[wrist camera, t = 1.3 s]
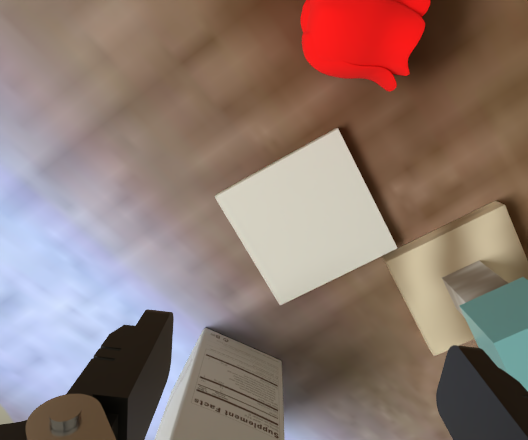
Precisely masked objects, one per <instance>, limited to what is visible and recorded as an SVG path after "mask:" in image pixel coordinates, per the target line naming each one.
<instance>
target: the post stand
mask: <svg viewBox="0 0 528 440" xmlns="http://www.w3.org/2000/svg"><path fill="white" fill-rule="evenodd" d="M382 258H383V260H384V262H385V264H386V266H387V268H388V270H389V272H390V273H391V275H392V277H393V279H394V281H395V283H396V285H397V287H398V289H399V291H400V293H401V295H402V297H403V299H404V301H405V303H406V305H407V307H408V309H409V311H410V313H411V315H412V317H413V318H414V320H415V322H416V324H417V326H418V328H419V330H420V332H421V334H422V336H423V338H424V340H425V342H426V344H427V346H428V348H429V349H430V351H431V352H432V354H433V356H436V355H438V354H441V353H443V352H445V351H447V350H449V348H450V347H451V346H453V345H457V346H459V345H461V344H463V343H466V342H468V341H470V340H473V339H475V338H474V336H473V334H472V332H471V330H470V328H469V325H468V323H467V321H466V319H465V317H464V315H463V313H462V311H461V309H460V306H459V305H462V304H464V303H466V302H468V301H471V300H473V299H475V298H477V297H479V296H482V295H484V294H486V293H488V292H490V291H493V290H495V289H497V288H499V287H501V286H504V285H506V284H508V283H510V282H513V281H515V280H517V279H519V278H521V277H524V278H526V279H527V280H528V260H527V258H526V255H525V253H524V250H523V248H522V245H521V243H520V241H519V238H518V236H517V233H516V231H515V228H514V226H513V224H512V221H511V219H510V216H509V214H508V211H507V209H506V206H505V205H504V204H502V203H500V202H497V201H494V202H492V203H490V204H488V205H486V206H484V207H482V208H479V209H477V210H475V211H473V212H471V213H469V214H467V215H465V216H463V217H461V218H459V219H457V220H455V221H453V222H451V223H449V224H447V225H445V226H443V227H441V228H438V229H436V230H434V231H432V232H430V233H428V234H426V235H424V236H422V237H420V238H418V239H416V240H414V241H412V242H410V243H408V244H406V245H404V246H402V247H400V248H398V249H395V250H393V251H391V252H389V253H387V254H385V255H383V256H382Z"/></svg>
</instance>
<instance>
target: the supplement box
mask: <svg viewBox="0 0 528 440" xmlns="http://www.w3.org/2000/svg"><path fill="white" fill-rule="evenodd" d="M155 440H284V412H283V383H282V362H281V361H280V360H278V359H276V358H274V357H272V356H269V355H267V354H265V353H263V352H260V351H258V350H256V349H253V348H251V347H249V346H247V345H244V344H242V343H240V342H237V341H235V340H233V339H231V338H228V337H226V336H224V335H221V334H219V333H217V332H215V331H212V330H210V329H208V328H204V329H203V331H202V333H201V335H200V337H199V338H198V340H197V342H196V344H195V346H194V348H193V350H192V352H191V354H190V356H189V358H188V360H187V362H186V364H185V366H184V368H183V370H182V372H181V373H180V375H179V377H178V379H177V381H176V383H175V385H174V387H173V389H172V391H171V394H170V397H169V400H168V403H167V405H166V408H165V411H164V414H163V417H162V420H161V422H160V425H159V428H158V431H157V434H156V437H155Z"/></svg>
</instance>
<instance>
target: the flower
mask: <svg viewBox="0 0 528 440" xmlns="http://www.w3.org/2000/svg"><path fill="white" fill-rule="evenodd" d="M430 1H431V0H306V2H305V3H304V5H303V10H302V14H301V27H302V30H303V35H302V47H303V52H304V56H305V58H306V59H307V61H308V62H309V64H310V65H311V66H312V67H314V68H315V69H316V70H318V71H319V72H321V73H324V74H326V75H329V76H334V77H339V78H364V79H369V80H372V81H374V82H376V83H377V84H378V85H380V86H381V87H382V88H384V89H385V90H386V91H392V90H394V89H395V88H396V86H397V84H396V80H395V78H394V76H393V74H395V75H402V76H407V75H409V73H410V72H409V68H408V58H409V56H410V54H411V52H412V51H413V49H414V48H415V47H416V45H417V43H418V42H419V40H420V38H421V36H422V34H423V32H424V29H425V22H424V20H423V18H422V17H423V16H424V14H425V13H426V12H427V10H428V9H429V6H430Z"/></svg>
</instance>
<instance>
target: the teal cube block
mask: <svg viewBox="0 0 528 440" xmlns="http://www.w3.org/2000/svg"><path fill="white" fill-rule="evenodd" d="M459 306H460V309H461V311H462V313H463V315H464V317H465V319H466V321H467V323H468V325H469V328H470V330H471V332H472V334H473V336H474V338H475V340H476V342H477V345H478V347H479V348H481V349H482V350H484V351H485V353H486V354H487V355H488V356H489V357H490V358H491V360H492V361H493V362H494V363H495V364H496V365H497V367H498V368H501V369H502V370H504V371H505V372H506V373H508V374H509V375H511V376H512V377H513V378H515V379H516V380H518V381H519V382H520V383H521V384H522V386H523V387H524V388H525V389H526V390H527V391H528V280H527V279H526V278H524V277H521V278H519V279H517V280H515V281H513V282H510V283H508V284H506V285H504V286H501V287H499V288H497V289H495V290H493V291H490V292H488V293H486V294H484V295H482V296H479V297H477V298H475V299H473V300H471V301H468V302H466V303H464V304H462V305H459Z"/></svg>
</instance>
